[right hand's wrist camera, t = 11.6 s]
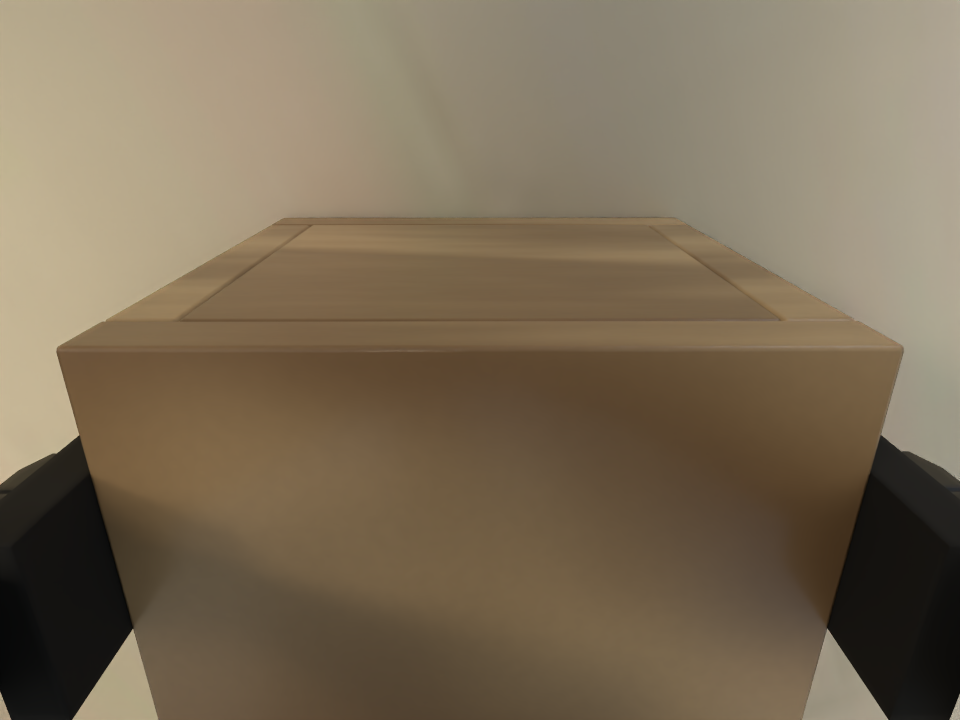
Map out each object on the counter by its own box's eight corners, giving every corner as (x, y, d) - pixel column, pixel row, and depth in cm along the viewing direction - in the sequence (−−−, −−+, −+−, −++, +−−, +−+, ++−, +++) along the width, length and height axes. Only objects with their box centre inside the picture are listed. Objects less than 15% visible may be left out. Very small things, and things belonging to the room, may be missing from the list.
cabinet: (622, 674, 22) (715, 1038, 14) (336, 675, 22) (246, 1039, 14) (677, 217, 16) (908, 345, 8) (281, 217, 16) (51, 346, 7)
